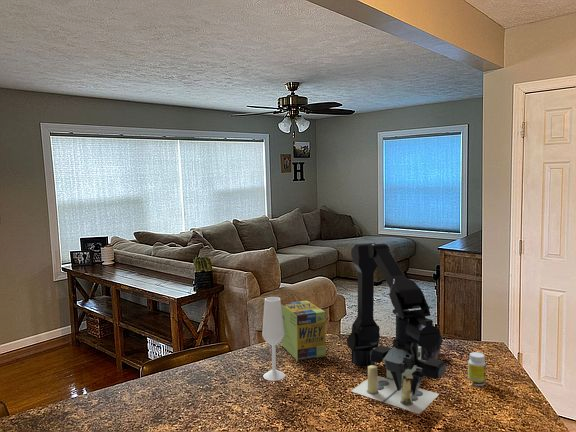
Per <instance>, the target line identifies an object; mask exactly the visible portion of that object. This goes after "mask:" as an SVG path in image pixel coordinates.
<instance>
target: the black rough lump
mask: <svg viewBox="0 0 576 432" xmlns="http://www.w3.org/2000/svg"><path fill="white" fill-rule="evenodd" d="M443 342H444V341H443V337H442V335H441V334H440V340H439V342H438V344H437V345H436V346H435V347H433V348H431V349H426V348H423V347H422V346H420V345H419V344H418V346H420V347H421V360H424V361H427V360H428V359H430V358H434V359H438V358H439V354H440V352H441V348H442V344H443Z"/></svg>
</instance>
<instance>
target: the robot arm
mask: <svg viewBox="0 0 576 432" xmlns="http://www.w3.org/2000/svg"><path fill="white" fill-rule="evenodd" d="M350 255H351V258H352V260H351V261H352V264H353V266H354V267H355V269H356V270H357V317H356V318H355V320H354V322H352V325H351V332H350V334H349V336H348V337H347V338H346V344H347V345H346V346H347V347H348V349H350V350H351V363H353V364H354V365H355V366H357V367H361V368H362V367H363V368H364V367H367V368H368V366H370V365H374V366H376V365H375V364H376V363H377V364H381V363H382V362H383V361H384V363H383V364H382V366H383V368H386V369H387V370H389V371H390V372H391V374H392V376H393V379H394V382H395V384H396V387H397V390H398V391H400V390H401V384H402V383H403V382H402V373H404V372H405V370H407V369H410V370H411V369H412V368H413V367H415V369H416V370H415V371H414V372H413V373H412V376H413V387H412V393H413V395H415V394H416V392H417V390H418V388H420V385H421V383H422V380H423V379H424V378H425V377H427V378H431V379H434V380H437V379H440V377H442V376H443V374H445V373H446V372H447V364H446V362H445V361H444V360H442V359H438V358H437V359H434V358H430V359H428V360H427V361H424V360H418V358H419V357H420V352H418V344H419V345H420V346H422V347H423V348H426V349H431V348H433V347H435V346H436V345H437V344H438V342H439V340H440V335H441V333H440V330H439V328H437V326H435V325H434V324H433V323H434V321H433V319H431V318H427V317H430V316H431V312H430V306H429V304H428V302H427V300H426V298H425V295H424V292H423V290H422V289H421V288H420V287H419V285H418V284H417V283H416V282H415V281H414V280H412V279H410V278H409V277H407V276H406V275H405V273H404V272H403V270H402V269H401V268H400V266H399V264H398V263H397V260H396V259H395V258H394V256H393V255H392V253H391V252H390V247H389V245H388V244H386V243H376V242H370V243H369V242H368V243H365V242H364V243H356V244H354V246H353V247H352V248H351V250H350ZM377 269H378V270H379V271H380V273H381V274H382V276H383V278H384V280H385V282H386V283H387V285H388V287H389V294H388V297H389V298H390V302H391V304H392V306H393V308H394V309H392V311H391V312H392V313H393V314H394V315H395V338H394V339H393V341H392V347H391V346H390V347H389V346H386V345H381V344H380V345H379V342H380V339H381V334H380V325H378V324H377V322H376V320H375V318H374V301H375V299H374V295H375V294H374V291H375V285H374V284H375V282H374V281H375V272H376V270H377ZM419 308H420V309H419ZM393 379H392V380H393Z"/></svg>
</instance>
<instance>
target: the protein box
mask: <svg viewBox="0 0 576 432" xmlns="http://www.w3.org/2000/svg"><path fill="white" fill-rule="evenodd" d="M281 309H282V318H283V327H284V337H283V339H282V340H281V346H282V347H283V348H284V349H285V350H286V351H287V352H288V354H290V355H291V356H292V357H293V358H294V359H295V360H296V361H297V362H298V361H299V362H300V361H304V360H308V359H309V360H310V359H315V358H323V357H325V356H326V311H325V310H323V309H321V308H320V307H318V306H317V305H315V304H313V303H312V302H310V301H309V300H302V301H301V300H300V301H299V300H298V301H293V302H291V301H290V302H283V303H282V302H281Z"/></svg>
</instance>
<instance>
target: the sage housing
mask: <svg viewBox="0 0 576 432" xmlns="http://www.w3.org/2000/svg"><path fill="white" fill-rule="evenodd" d="M418 352H420V357H419V358H418V360H421V347H420V346H418ZM415 370H416V369H415V367H413V368H412V369H411V370H410V369H407V370H405V372H404V373H402V383H403V376H404V375H410V376H412V373H413V372H414V371H415ZM385 376H386V377H385V378H387V379H390V380H394V379H393V376H392V374H391V372H390V371H389V370H387V369H386V375H385ZM412 377H413V376H412Z"/></svg>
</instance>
